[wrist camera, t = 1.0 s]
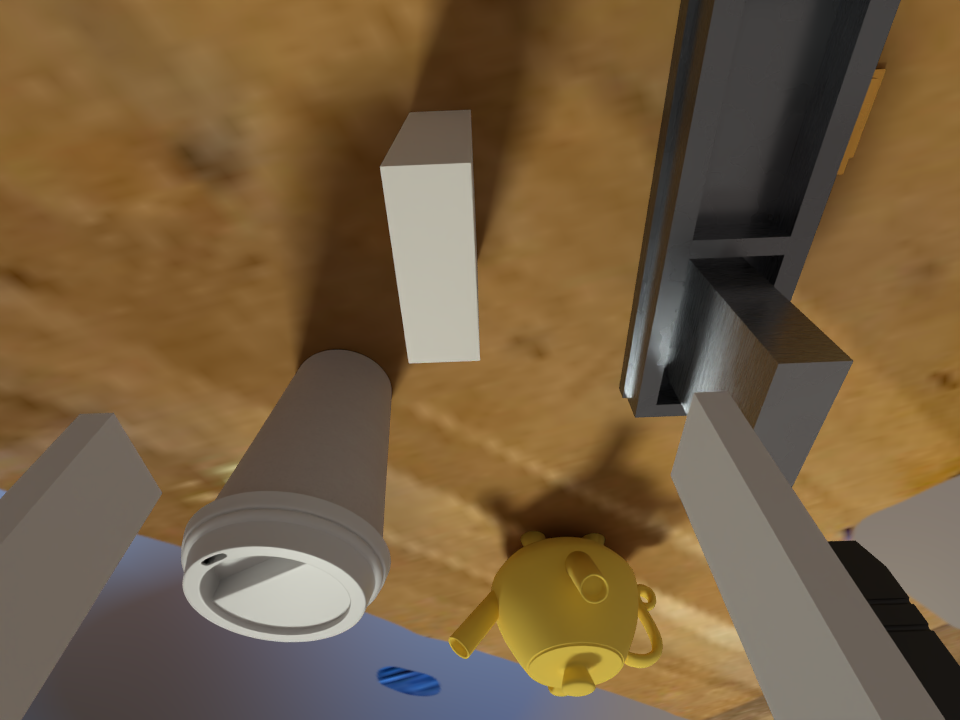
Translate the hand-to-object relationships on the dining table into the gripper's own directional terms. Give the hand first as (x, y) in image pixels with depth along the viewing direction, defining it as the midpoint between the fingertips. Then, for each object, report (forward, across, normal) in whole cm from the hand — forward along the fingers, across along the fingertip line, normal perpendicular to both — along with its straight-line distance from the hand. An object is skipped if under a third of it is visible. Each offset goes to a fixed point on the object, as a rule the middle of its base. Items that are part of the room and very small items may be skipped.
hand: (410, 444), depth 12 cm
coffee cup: (+19, -8, -13) cm, 24 cm away
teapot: (+19, +7, -33) cm, 39 cm away
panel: (+19, 0, 0) cm, 19 cm away
